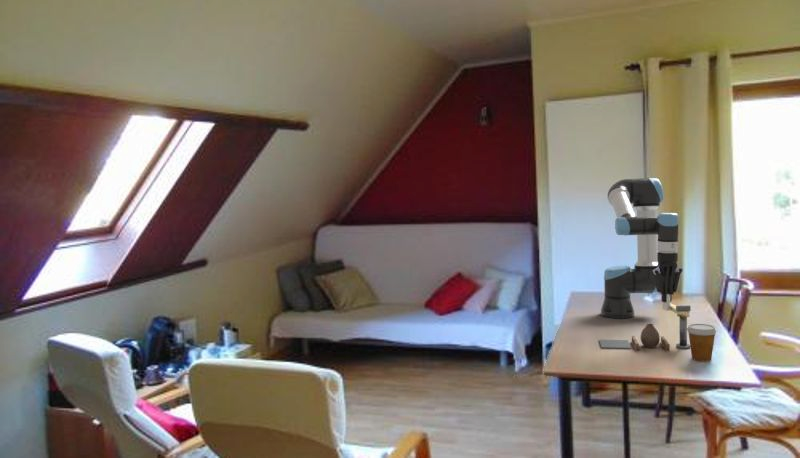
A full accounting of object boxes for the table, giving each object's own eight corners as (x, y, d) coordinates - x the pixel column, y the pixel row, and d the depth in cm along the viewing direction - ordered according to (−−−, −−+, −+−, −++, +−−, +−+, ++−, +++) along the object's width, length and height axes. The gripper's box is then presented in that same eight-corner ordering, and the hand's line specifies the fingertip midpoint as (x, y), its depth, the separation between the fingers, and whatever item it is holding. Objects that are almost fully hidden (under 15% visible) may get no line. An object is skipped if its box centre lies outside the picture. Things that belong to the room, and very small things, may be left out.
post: (674, 345, 239) (674, 314, 238) (688, 345, 238) (688, 314, 237) (677, 348, 234) (677, 317, 233) (691, 349, 233) (691, 317, 232)
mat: (599, 340, 249) (599, 339, 249) (627, 341, 247) (627, 340, 247) (601, 348, 238) (601, 347, 238) (631, 349, 236) (631, 347, 236)
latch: (673, 306, 251) (673, 297, 250) (692, 317, 233) (692, 306, 232) (660, 307, 251) (660, 297, 251) (678, 317, 233) (678, 307, 232)
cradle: (631, 341, 246) (631, 335, 246) (663, 342, 243) (663, 336, 243) (636, 350, 234) (636, 344, 234) (669, 351, 231) (669, 344, 231)
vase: (648, 349, 234) (648, 327, 234) (636, 345, 241) (636, 323, 240) (663, 347, 236) (663, 325, 236) (651, 343, 243) (651, 321, 242)
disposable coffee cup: (707, 354, 226) (707, 322, 225) (721, 362, 216) (721, 329, 215) (682, 355, 225) (682, 324, 224) (695, 363, 216) (695, 330, 215)
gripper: (660, 253, 238) (658, 313, 240) (687, 252, 242) (686, 310, 244) (647, 251, 245) (646, 309, 248) (674, 249, 249) (673, 306, 251)
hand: (666, 309), depth 246 cm, fingers closed
